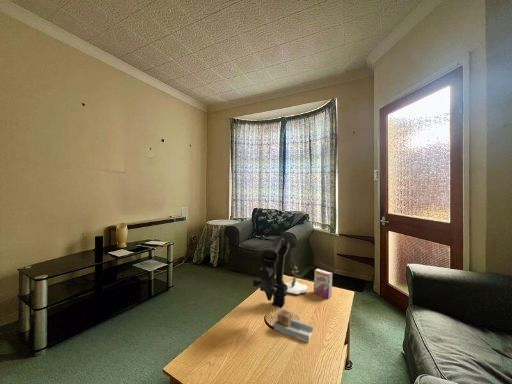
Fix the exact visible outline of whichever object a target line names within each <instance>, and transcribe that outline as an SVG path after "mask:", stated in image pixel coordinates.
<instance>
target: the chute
mask: <svg viewBox="0 0 512 384" xmlns="http://www.w3.org/2000/svg"><path fill="white" fill-rule="evenodd" d="M273 330H274V331H276V332H279V333H282V334H284V335H288V336H290V337H292V338H296V339H298V340H301V341H303V342H306V343H309V342H310V340H311V338H312V334H313V332H314V326H313V325H312V324H308V323H306V322H302V321H299V320H296V319H292V318H291V327H290V328H289V327H286V326H284V325H281V324H277V320H276V321H275V322H274V324H273Z"/></svg>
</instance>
